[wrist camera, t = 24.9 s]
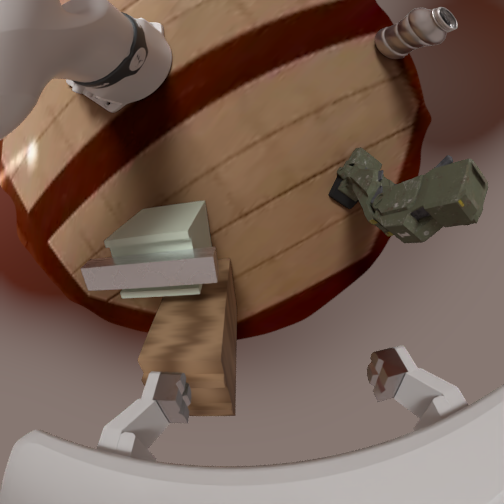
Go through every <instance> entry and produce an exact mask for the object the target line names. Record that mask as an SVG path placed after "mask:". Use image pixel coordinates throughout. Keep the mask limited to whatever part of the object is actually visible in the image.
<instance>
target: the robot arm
mask: <svg viewBox="0 0 504 504" xmlns="http://www.w3.org/2000/svg"><path fill="white" fill-rule="evenodd" d="M171 62H172V54H171V49H170V47H169V45H168V43H167V42H166V40H165V38H164V30H163V26H162V25H161V24H160V23H155V22H148V21H146V20H145V19H143V18H139V19H134V18H133V17H131V16H129V15H127V14H126V13H123V12H120V11H119V10H118V9H117V8H116V7H114V6H113V5H112V4H111V3H110V2H109V1H107V0H70V1H68V2H67V3H65V4H63V5H62V6H61V3H60V1H59V0H0V140H1V139H3V138H4V137H6V136H7V135H8V134H10V133H11V132H12V131H13V130H14V129H16V128H17V127H18V126H19V125H20V124H21V123H22V122H23V121H24V120H25V118H26V117H27V116H28V115H29V114H30V112H31V111H32V110H33V108H34V107H35V105H36V104H37V101H38V99H39V97H40V95H41V93H42V91H43V89H44V88H45V86H46V85H47V84H48V82H49V81H50V80H52V79H55V78H56V79H66V82H67V84H69V85H70V86H72V87H73V88H72V91H74V92H76V93H79V94H81V93H82V94H84V95H85V96H87V97H88V98H90V99H91V100H93V101H94V102H96V103H97V104H99V105H100V106H102V107H103V108H105V109H106V110H108V111H109V112H112V113H114V112H117V111H118V110H120V109H121V108H122V107H124V106H125V105H126V104H128V103H131V102H135V101H138V100H141V99H143V98H145V97H147V96H148V95H150V94H151V93H153V92H154V91H155V90H156V89H157V88H158V87H159V86H160V85H161V84H162V83H163V81H164V80H165V78H166V77H167V75H168V72H169V70H170V67H171ZM108 102H110V105H108ZM371 360H372V362H371V363H370V364H369V365H368V369H367V376H368V380H369V383H370V384H371V385H373V386H374V390H373V392H374V395H375V397H376V399H377V402H380V401H384V400H387V399H391V398H394V399H395V400H396V401H398V402H399V403H400V404H402V405H403V406H404V407H406V408H407V409H408V410H410V411H411V412H412V413H413V414H415V415H416V416H417V417H419V418H420V420H419V421H418V423H417V424H416V426H415V427H414V432H411V433H409V434H406V435H403V436H400V437H398V438H395V439H392V440H389V441H386V442H383V443H380V444H377V445H373V446H369V447H366V448H362V449H359V450H355V451H351V452H347V453H342V454H338V455H333V456H328V457H323V458H318V459H312V460H305V461H299V462H292V463H282V464H273V465H259V466H195V465H182V464H173V463H164V462H156V458H155V456H154V455H153V454H152V453H151V452H150V451H149V450H148V448H149V447H150V446H151V445H152V443H153V442H154V441H155V440H156V439H157V438H158V437H159V435H160V434H161V433H162V432H163V431H164V430H165V429H166V427H167V426H168V425H169V423H188V418H189V412H190V411H189V409H188V406H189V405H190V404H191V388H190V385H189V384H188V383H187V382H186V376H185V373H178V372H156V371H151V372H150V373H149V375H148V379H147V382H146V385H145V388H144V391H143V394H142V398H141V399H137V400H136V401H135V402H134V403H133V404H132V405H130V406H129V407H128V408H127V409H125V410H124V411H123V412H122V413H121V414H119V415H118V416H117V417H116V418H115V419H113V420H112V421H111V422H110V423H109V424H107V425H106V426H105V427H104V429H103V431H102V435H101V437H100V440H99V443H98V446H97V449H94V448H91V447H87V446H84V445H81V444H78V443H74V442H71V441H68V440H66V439H63V438H60V437H57V436H54V435H52V434H50V433H47V432H44V431H42V430H34V431H31V432H30V433H28V434H27V435H25V436H24V437H22V438H21V439H19V440H18V441H17V442H16V443H15V445H14V447H13V449H12V452H11V454H10V458H9V460H8V463H7V466H6V470H5V474H4V477H3V482H2V487H1V492H0V504H504V384H503V385H501V386H500V387H498V388H497V389H496V390H494V391H492V392H491V393H489V394H488V395H486V396H485V397H483V398H481V399H479V400H478V401H476V402H474V403H472V404H471V405H468V404H467V402H466V400H465V399H464V397H463V395H462V394H461V392H460V390H459V389H458V387H456V386H454V385H452V384H450V383H448V382H446V381H444V380H443V379H441V378H439V377H437V376H435V375H433V374H431V373H429V372H427V371H425V370H423V369H422V368H419V369H418V368H417V366H416V364H415V363H414V361H413V360H412V358H411V356H410V355H409V353H408V352H407V350H406V348H405V347H404V346H403V345H401V346H397V347H393V348H388V349H384V350H380V351H376V352H373V353H372V354H371Z"/></svg>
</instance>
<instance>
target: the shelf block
mask: <svg viewBox="0 0 504 504" xmlns="http://www.w3.org/2000/svg"><path fill="white" fill-rule="evenodd" d="M104 243H105V247H106V248H109V247H110V251H111V254H112V257H117V256H126V255H136V254H146V253H155V252H165V251H175V250H185V249H196V248H206V247H212V244H211V237H210V231H209V224H208V217H207V210H206V203H205V201H197V202H189V203H181V204H174V205H167V206H160V207H153V208H146V209H142V210H141V211H140V212H138V213H137V214H136V215H135V216H133V217H132V218H131V219H130V220H128V221H127V222H126V223H125V224H123V225H122V226H121V227H120V228H119V229H117V230H116V231H115V232H114V233H113V234H112V235H110V236H109V237H108V238H107V239H106V240H105V241H104ZM201 288H202V284H194V285H180V286H165V287H149V288H132V289H122V290H121V292H120V294H121V297H122V298H142V297H162V296H179V295H194V294H200V292H201Z"/></svg>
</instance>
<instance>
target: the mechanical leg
mask: <svg viewBox="0 0 504 504" xmlns="http://www.w3.org/2000/svg"><path fill="white" fill-rule="evenodd" d="M381 166H382V164H381V163H380V162H379V161H377V160H376V159H375V158H374V157H372V156H371V155H370V154H369V153H367V152H366V151H365V150H364V149H362V148H356V149H355V150H354V152H353V154H352V155H351V157H350V158H349V160H348V161H346V163H345V164H344V167H342V168H341V167H340V168H339V170H338V171H337V173H338V174H339V175H338V176H337V178H336V180H335V182H334V184H333V186H332V188H331V190H330V192H329V196H330V197H331V198H333V199H334V200H336V201H337V202H339V203H340V204H342V205H343V206H345V207H346V208H348V209H351V208H352V207H353V206H354V205H355V204H356V203H357V202H358V201H359V202H360V204H361V206H362V208H363V211H364V214H365V216H366V218H367V220H368V222H370V223H371V224H373V225H375V226H377V227H378V228H379V229H381V230H382V231H383V232H384V233H385V234H386V235H387V236H392V235H395V236H396V237H397V238H399V239H400V240H401V241H402V242H404V243H418V242H424V241H426V240H427V239H428V238H429V237H431V236H432V235H434V234H435V233H436V232H437V231H438V230H440V229H441V228H442V227H443V226H444V227H451V226H458V225H470V224H473V223H477V221H478V218H479V217H480V215H481V213H482V210H483V203H484V200H485V196H486V193H487V190H488V182H487V180H486V179H485V177H484V176H483V174H482V173H481V171H480V170H479V168H478V167H477V166H476V164H475V163H474V161H473V160H472V159H466V160H462V161H458V162H455V163H453V159H452V157H451V156H446V157H445V158H444V159H443V160H442V161H441V162H440V163H439V164H438V165H437V166H436V167H435V168H434V169H432V170H431V171H429V172H428V173H426V174H425V175H420V176H418V177H415V178H413V179H410V180H408V181H405V182H402V183H400V184H394V183H393V182H392V181H390V180H388V179H386V178H385V177H384V175H383V170H381V171H380V169H381Z"/></svg>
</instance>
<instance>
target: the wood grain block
mask: <svg viewBox="0 0 504 504" xmlns="http://www.w3.org/2000/svg"><path fill="white" fill-rule="evenodd" d="M217 260H218V266H219V276H218V282H217V283H207V284H202V288H201V292H200V294H194V295H179V296H164V297H163V299H162V302H161V304H160V306H159V309H158V311H157V313H156V316H155V318H154V320H153V323H152V325H151V328H150V330H149V332H148V335H147V338H146V340H145V342H144V345H143V347H142V350H141V352H140V355H139V357H138V363H139V365H140V367H141V368H142V370H143V373H144V374H143V377H142V382H143V384H144V386H145V385H146V382H147V379H148V375H149V373H150V372H151V371H156V372H178V373H185V376H186V382H187V383H188V384H189V385H190V388H191V404H190V405H189V406H188V409H189V411H190V412H189V416H235V396H236V395H235V393H236V340H237V305H236V298H235V291H234V284H233V277H232V269H231V262H230V258H227V259H217Z"/></svg>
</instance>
